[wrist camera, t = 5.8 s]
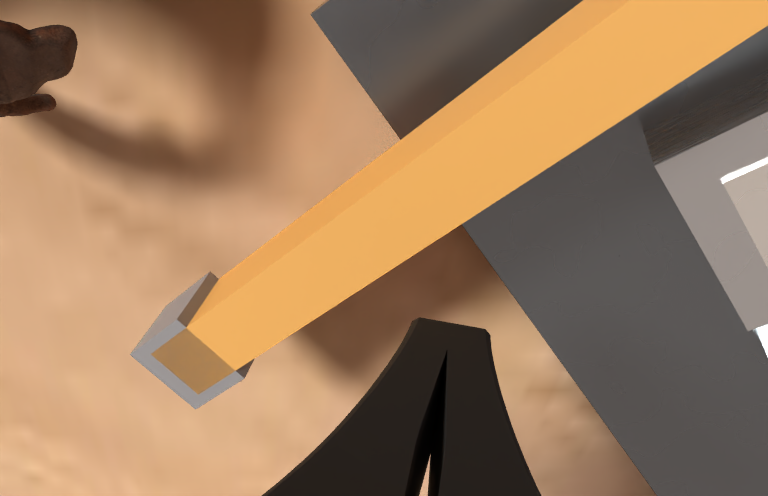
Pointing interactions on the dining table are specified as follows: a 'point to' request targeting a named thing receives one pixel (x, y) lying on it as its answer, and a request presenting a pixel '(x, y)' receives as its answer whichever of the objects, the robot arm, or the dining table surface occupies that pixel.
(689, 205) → the block
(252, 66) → the dining table surface
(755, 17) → the orange wooden bar
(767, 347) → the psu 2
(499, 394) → the robot arm
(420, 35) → the dark grey panel board
